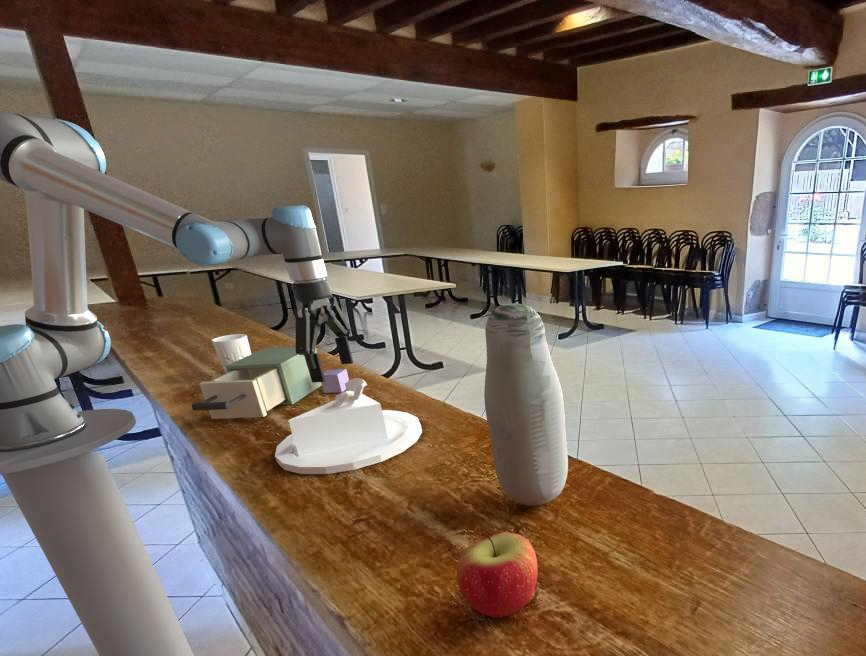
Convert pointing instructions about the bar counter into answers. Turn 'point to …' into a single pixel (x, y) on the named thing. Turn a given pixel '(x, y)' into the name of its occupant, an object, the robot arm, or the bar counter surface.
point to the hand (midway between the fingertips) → (333, 372)
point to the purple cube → (335, 380)
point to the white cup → (231, 348)
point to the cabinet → (282, 370)
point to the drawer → (242, 393)
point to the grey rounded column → (524, 407)
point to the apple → (498, 574)
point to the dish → (346, 434)
